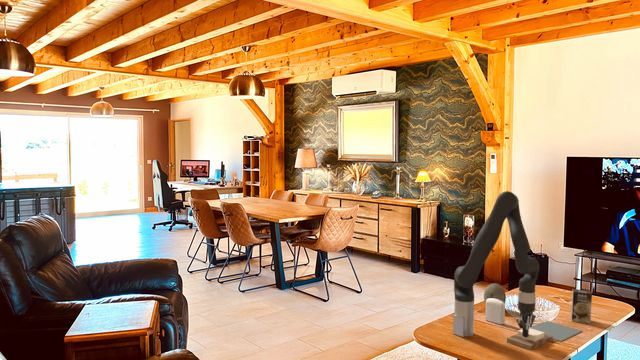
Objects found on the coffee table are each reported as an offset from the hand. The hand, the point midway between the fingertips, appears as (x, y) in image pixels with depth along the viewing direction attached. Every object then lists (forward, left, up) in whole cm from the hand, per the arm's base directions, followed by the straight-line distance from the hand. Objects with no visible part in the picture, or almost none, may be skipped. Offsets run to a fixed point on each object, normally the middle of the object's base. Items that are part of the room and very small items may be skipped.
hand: (525, 336), depth 245 cm
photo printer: (+15, +26, -4) cm, 30 cm away
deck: (+5, 0, -4) cm, 6 cm away
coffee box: (+53, -1, -4) cm, 53 cm away
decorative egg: (+33, +38, -4) cm, 50 cm away
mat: (+27, 0, -4) cm, 27 cm away
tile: (+5, 0, -2) cm, 6 cm away
